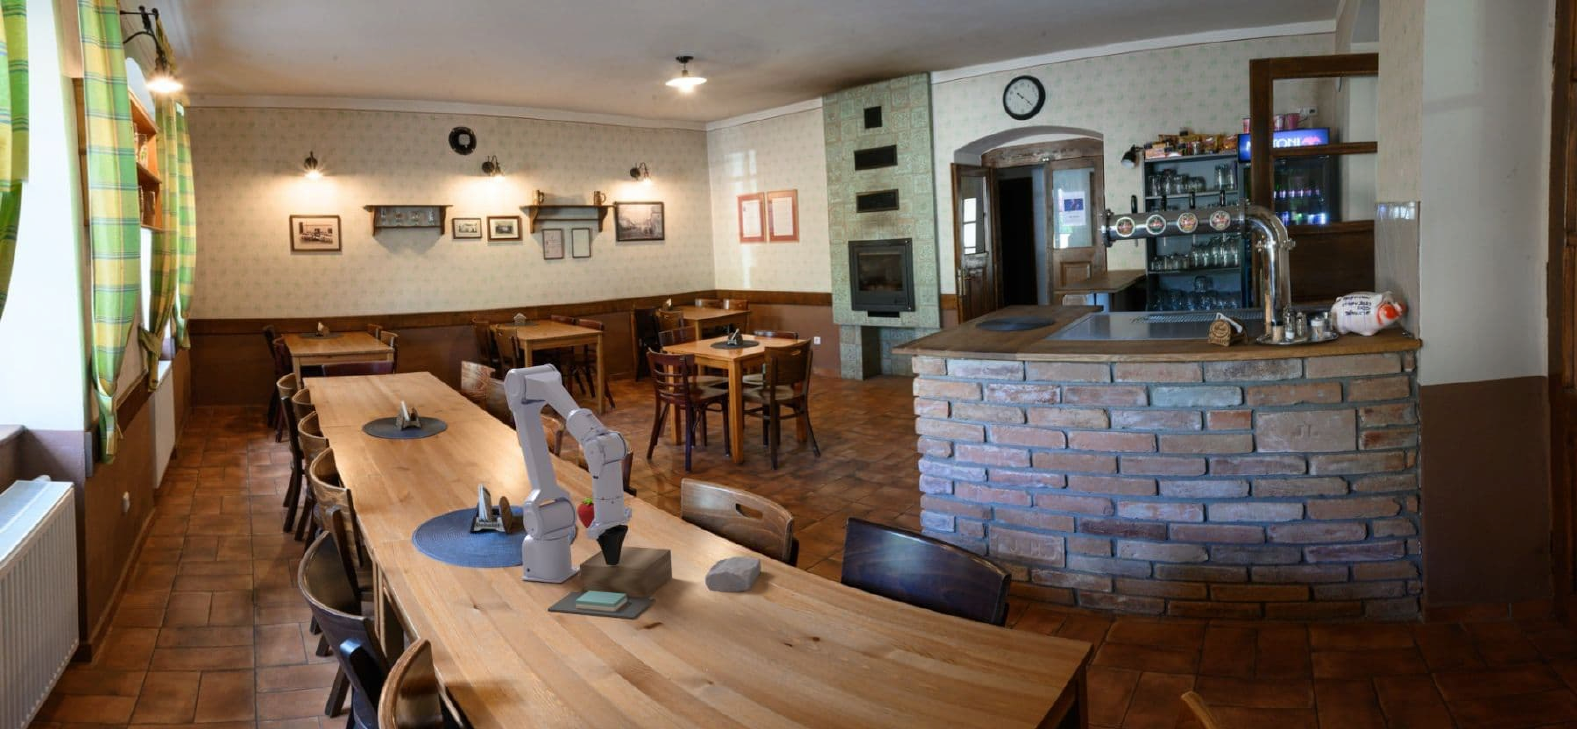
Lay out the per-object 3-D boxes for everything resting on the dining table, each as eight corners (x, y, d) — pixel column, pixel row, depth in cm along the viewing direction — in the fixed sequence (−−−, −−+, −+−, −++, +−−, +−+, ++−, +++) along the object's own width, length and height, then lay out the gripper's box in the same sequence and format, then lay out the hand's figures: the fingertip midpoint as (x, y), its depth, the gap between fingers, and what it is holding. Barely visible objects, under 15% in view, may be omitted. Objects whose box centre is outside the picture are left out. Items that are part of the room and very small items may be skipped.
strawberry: (594, 527, 225) (591, 487, 223) (611, 533, 219) (608, 492, 218) (573, 532, 220) (570, 492, 219) (590, 539, 215) (587, 497, 214)
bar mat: (547, 610, 172) (547, 608, 172) (572, 593, 181) (572, 591, 181) (633, 619, 167) (633, 617, 167) (655, 600, 176) (655, 598, 175)
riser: (581, 594, 180) (579, 564, 180) (611, 572, 192) (609, 545, 191) (645, 599, 176) (644, 569, 175) (672, 577, 187) (670, 549, 187)
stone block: (704, 600, 180) (752, 592, 178) (698, 577, 180) (747, 568, 178) (719, 580, 192) (765, 572, 190) (714, 558, 191) (760, 550, 189)
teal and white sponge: (589, 590, 177) (589, 598, 177) (575, 600, 172) (576, 607, 172) (626, 593, 174) (626, 601, 175) (613, 603, 170) (614, 611, 170)
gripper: (608, 507, 168) (613, 578, 170) (644, 487, 182) (647, 553, 184) (574, 505, 170) (579, 575, 172) (612, 485, 184) (616, 550, 186)
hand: (612, 563), depth 178 cm, fingers closed
